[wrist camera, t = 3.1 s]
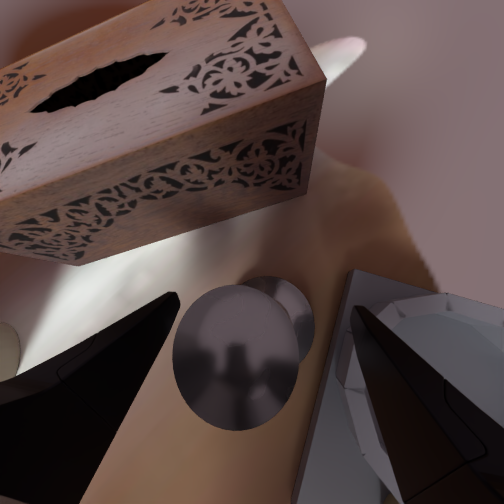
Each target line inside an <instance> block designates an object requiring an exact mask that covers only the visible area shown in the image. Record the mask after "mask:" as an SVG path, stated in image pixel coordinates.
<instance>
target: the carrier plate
mask: <svg viewBox="0 0 504 504" xmlns="http://www.w3.org/2000/svg"><path fill="white" fill-rule="evenodd" d="M354 305H362V306H365V307H366V308H367V309H368V310H369V311H370V312H371V313H373V314H374V315H375V316H376V317H377V318H378V319H379V320H380V321H382V322H383V323H384V324H385V325H386V326H387V327H388V328H389V329H391V330H392V331H393V332H394V333H395V334H396V335H397V336H398V337H400V338H401V339H402V340H403V341H404V342H405V343H406V344H407V345H408V346H410V347H411V348H412V349H413V350H414V351H415V352H416V353H417V354H419V355H420V356H421V357H422V358H423V359H424V360H425V361H426V362H428V363H429V364H430V365H431V366H432V367H433V368H434V369H435V370H437V371H438V372H439V373H440V374H441V375H442V376H443V377H444V379H447V380H448V381H449V382H450V383H451V384H452V385H454V386H455V387H456V388H457V389H458V390H459V391H460V392H461V393H463V394H464V395H465V396H466V397H467V398H468V399H470V400H471V401H472V402H473V403H474V404H475V405H476V406H478V407H479V408H480V409H481V410H482V411H484V412H485V413H486V414H487V415H489V416H490V417H491V418H492V419H493V420H495V421H496V422H497V423H498V424H500V425H501V426H502V427H503V428H504V309H502V308H498V307H495V306H491V305H488V304H484V303H481V302H478V301H474V300H470V299H467V298H464V297H460V296H457V295H453V294H449V293H436V292H433V291H429V290H426V289H423V288H419V287H416V286H412V285H409V284H405V283H402V282H399V281H395V280H392V279H388V278H385V277H381V276H378V275H375V274H371V273H368V272H364V271H361V270H357V269H353V270H351V271H350V272H348V276H347V280H346V284H345V288H344V292H343V296H342V300H341V304H340V308H339V312H338V316H337V319H336V323H335V327H334V331H333V335H332V339H331V343H330V347H329V351H328V355H327V359H326V363H325V367H324V371H323V375H322V379H321V383H320V387H319V391H318V395H317V399H316V403H315V407H314V411H313V414H312V418H311V422H310V426H309V430H308V434H307V438H306V442H305V446H304V450H303V454H302V458H301V462H300V466H299V470H298V474H297V478H296V482H295V486H294V490H293V494H292V498H291V504H404V503H403V501H402V498H401V495H400V492H399V488H398V485H397V482H396V479H395V476H394V473H393V469H392V466H391V463H390V460H389V457H388V454H387V450H386V447H385V444H384V441H383V438H382V435H381V431H380V428H379V425H378V422H377V419H376V416H375V412H374V409H373V406H372V403H371V400H370V397H369V393H368V390H367V387H366V384H365V381H364V378H363V374H362V371H361V368H360V365H359V362H358V358H357V355H356V350H355V345H354V340H353V335H352V330H351V325H350V315H351V312H352V308H353V306H354Z"/></svg>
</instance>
